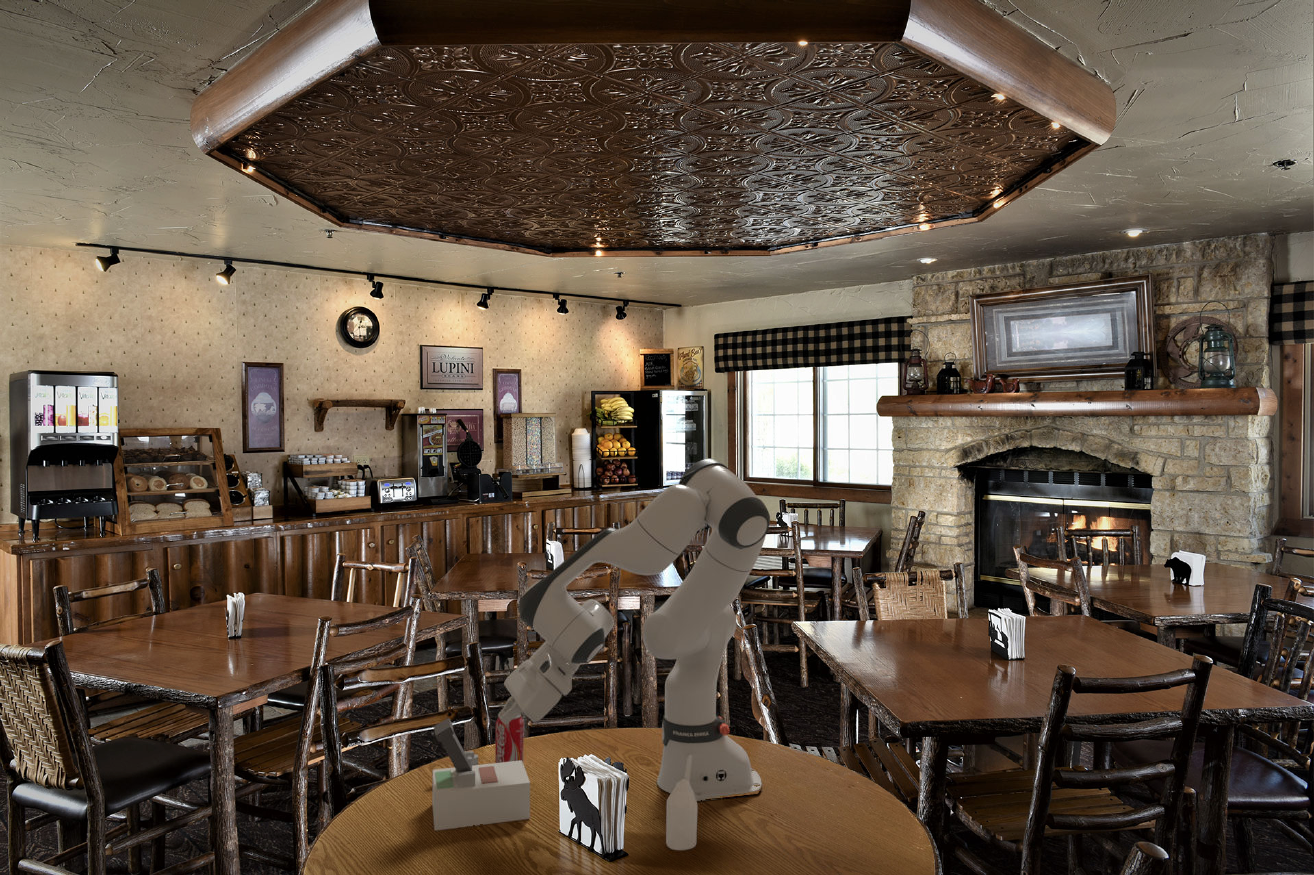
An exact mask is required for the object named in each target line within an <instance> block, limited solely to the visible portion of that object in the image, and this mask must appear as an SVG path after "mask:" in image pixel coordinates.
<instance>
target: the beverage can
mask: <svg viewBox="0 0 1314 875" xmlns="http://www.w3.org/2000/svg"><path fill="white" fill-rule="evenodd" d="M521 714H522V713H521ZM521 714H520V715H518V716H516V717H515V718H513V719H512V720H511V721H510V722H509V723H508V724H506V725H505V724H504V723H503V722H502V721H501V720H500V718H499V717H498V716H497V720H496V721H495V749H494V750H495V757H494V758H495V761H494V762H495V763H502V762H511V761H521V760H522V762H523V763H524V738H525V737H524V734H525V732H524V731H525V730H524V729H525V728H524V726H525V722H524V719H523V717H522V715H521Z"/></svg>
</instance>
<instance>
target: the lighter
mask: <svg viewBox="0 0 1314 875" xmlns="http://www.w3.org/2000/svg"><path fill="white" fill-rule="evenodd" d="M464 752H465V754H466V756H467V757H471V756H472V766H473V765H479V754H476V753H475V752H474V751H472V750H469V751H465V750H464Z"/></svg>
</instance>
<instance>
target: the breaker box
mask: <svg viewBox="0 0 1314 875" xmlns="http://www.w3.org/2000/svg"><path fill="white" fill-rule="evenodd" d="M467 758H468V759H469V761H470V764H471V769H472V771H467V772H457V771H456V769H455V767H454V766H453V767H447V768H435V769H432V795H431V796H432V798H431V799H432V800H431V801H432V802H431V803H432V806H431V807H432V816H433V828H434V831H436V832H437V831H443V830H444V831H445V830H451V829H458V828H459V827H460V828H466V827H467V826H468V827H473V825H475V826H481V825H480V824H483V825H488V824H489V825H490V824H498V823H505V822H506V823H507V822H513V821H522V820H529V819H531V782H530V779H529V776H528V773H527V771H526V768H525V766H524V761H523V762H522V760H521V761H511V762H502V763H493V762H492V763H485V764H484V763H483V764H478V765H473V766H472V756H471V757H467Z"/></svg>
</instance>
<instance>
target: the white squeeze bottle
mask: <svg viewBox="0 0 1314 875" xmlns="http://www.w3.org/2000/svg"><path fill="white" fill-rule="evenodd" d="M698 809H699V808H698V801H696V798H695V795H694V792H693V790H692V788H691V786H690V782H689V781H688V780H685V779H682V780H681V781H679V782H677V784H676V786H675V788H674V790H673V791H672V793H669V796H668V797H667V799H666V815H665V816H666V820H665V821H666V823H665V824H666V825H665V827H666V830H665V833H666V834H665V836H666V837H665V844H666V846H667V848H669V849H670V850H673V851H686V850H687V851H688V850H691V849H694V848H695V847H696V845H697V839H698V838H697V833H698V832H697V830H698Z"/></svg>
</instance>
